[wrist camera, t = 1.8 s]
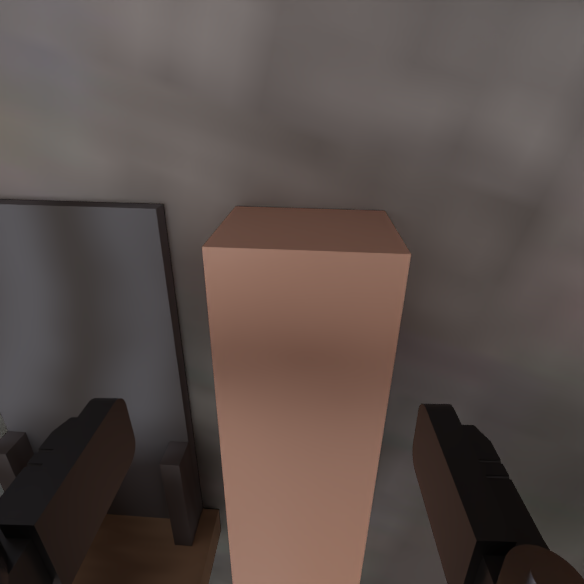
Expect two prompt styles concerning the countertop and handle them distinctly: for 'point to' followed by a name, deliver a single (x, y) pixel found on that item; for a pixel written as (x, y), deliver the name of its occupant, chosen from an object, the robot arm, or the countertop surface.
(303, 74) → the countertop surface
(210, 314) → the rectangular block
